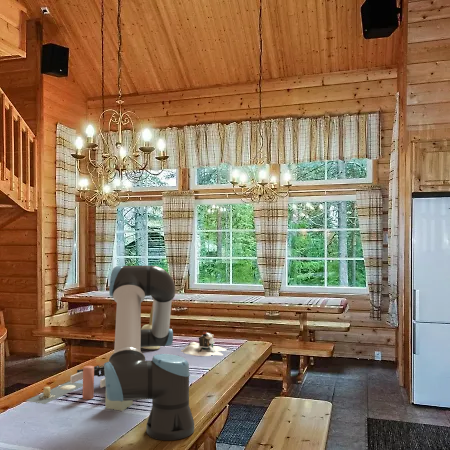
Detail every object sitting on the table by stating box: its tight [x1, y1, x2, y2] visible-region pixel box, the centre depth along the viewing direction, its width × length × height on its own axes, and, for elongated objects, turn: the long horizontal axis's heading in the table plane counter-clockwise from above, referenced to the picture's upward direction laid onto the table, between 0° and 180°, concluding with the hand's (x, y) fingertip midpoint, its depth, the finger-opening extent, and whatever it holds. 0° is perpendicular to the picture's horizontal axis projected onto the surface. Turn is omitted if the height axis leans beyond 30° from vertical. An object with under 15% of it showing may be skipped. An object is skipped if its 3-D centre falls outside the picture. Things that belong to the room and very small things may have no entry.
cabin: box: [180, 328, 227, 357], centre depth 250 cm, size 40×40×13 cm
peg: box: [82, 365, 95, 401], centre depth 174 cm, size 4×4×12 cm
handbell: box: [141, 304, 161, 350], centre depth 255 cm, size 15×15×25 cm
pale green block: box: [104, 395, 134, 412], centre depth 167 cm, size 7×7×11 cm
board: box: [25, 381, 83, 405], centre depth 180 cm, size 24×9×4 cm, turn 160°
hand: (85, 381), depth 173 cm, fingers open, 13 cm apart
